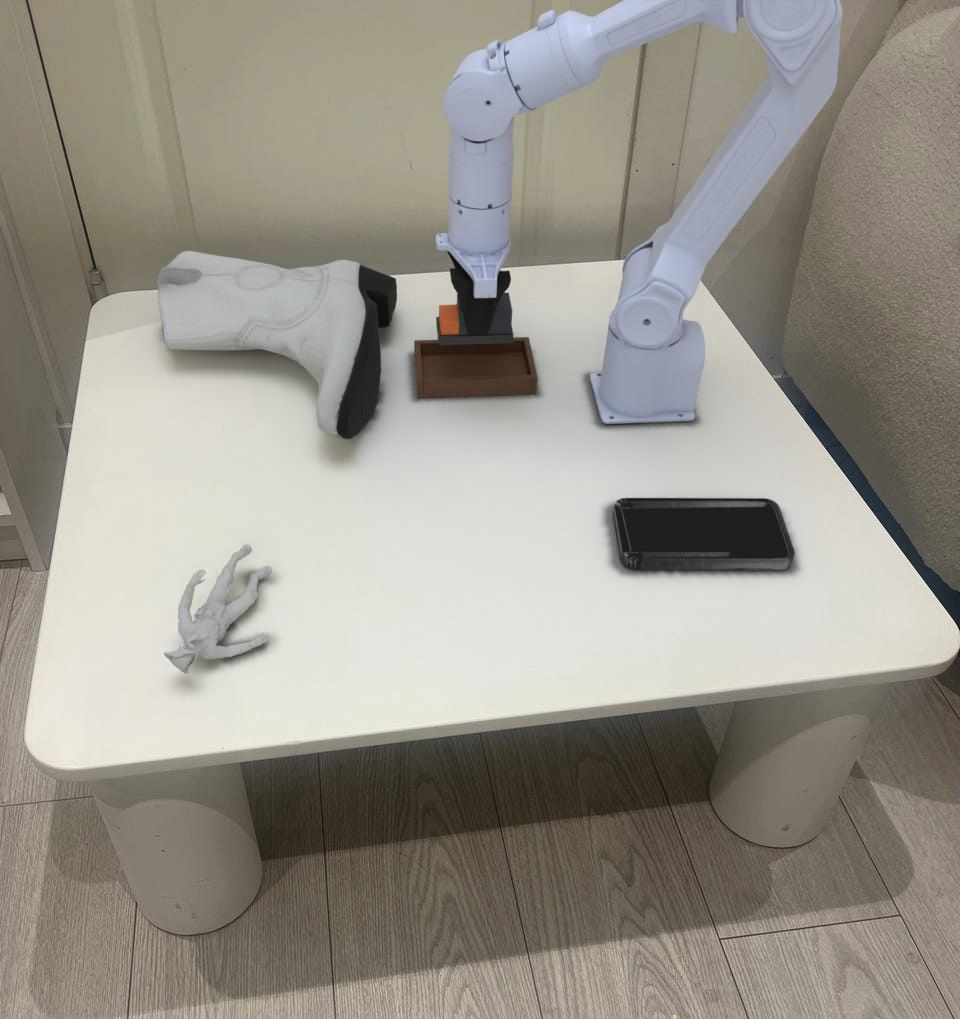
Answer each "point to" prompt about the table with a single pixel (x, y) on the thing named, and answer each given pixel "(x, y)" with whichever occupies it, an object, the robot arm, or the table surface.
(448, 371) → the rectangular tray
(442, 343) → the stepped block
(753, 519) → the phone
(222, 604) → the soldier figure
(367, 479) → the table surface
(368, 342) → the cowboy boot
